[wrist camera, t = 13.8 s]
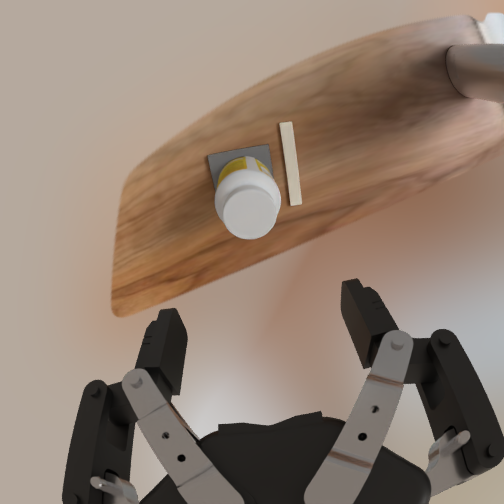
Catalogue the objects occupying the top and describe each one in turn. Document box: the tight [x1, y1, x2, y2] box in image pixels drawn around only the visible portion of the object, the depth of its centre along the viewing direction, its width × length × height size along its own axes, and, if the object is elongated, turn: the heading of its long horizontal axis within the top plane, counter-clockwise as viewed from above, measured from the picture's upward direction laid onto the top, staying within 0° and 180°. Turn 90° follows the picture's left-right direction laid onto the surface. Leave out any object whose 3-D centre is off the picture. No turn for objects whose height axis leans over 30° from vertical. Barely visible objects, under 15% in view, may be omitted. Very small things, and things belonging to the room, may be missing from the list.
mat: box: [208, 144, 274, 192], centre depth 33 cm, size 8×8×1 cm
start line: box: [279, 121, 302, 206], centre depth 33 cm, size 2×11×1 cm, turn 10°
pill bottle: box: [215, 156, 281, 239], centre depth 28 cm, size 6×6×12 cm
